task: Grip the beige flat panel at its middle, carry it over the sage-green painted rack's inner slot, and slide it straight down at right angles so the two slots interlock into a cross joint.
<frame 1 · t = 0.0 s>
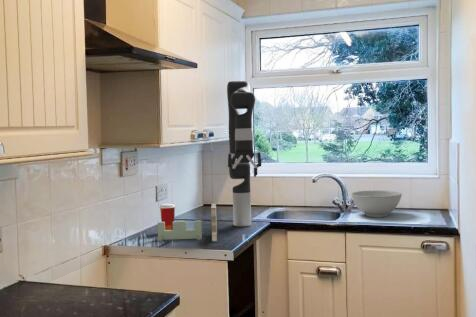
hand: (244, 177, 222), 29 cm above the worktop, fingers open, 8 cm apart
decorative bowl: (376, 215, 287), on the worktop
rack: (180, 238, 240), on the worktop
paper cup: (168, 233, 255), on the worktop
beige flat panel: (214, 237, 240), on the worktop
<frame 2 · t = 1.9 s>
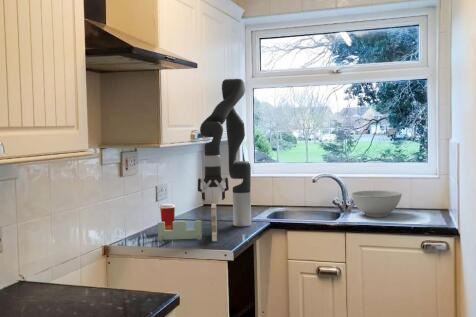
hand: (213, 200, 239), 17 cm above the worktop, fingers open, 8 cm apart
nothing on the worktop moved.
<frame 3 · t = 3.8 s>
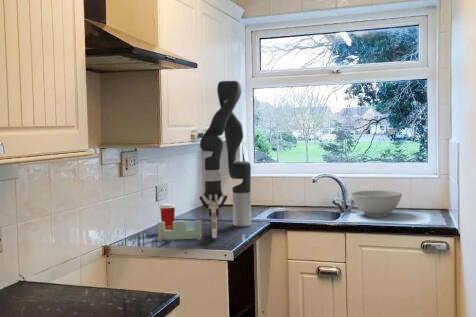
hand: (214, 216, 240), 10 cm above the worktop, fingers closed on beige flat panel, 2 cm apart
beige flat panel: (214, 233, 240), point 2 cm above the worktop, touching gripper
everything else where it was.
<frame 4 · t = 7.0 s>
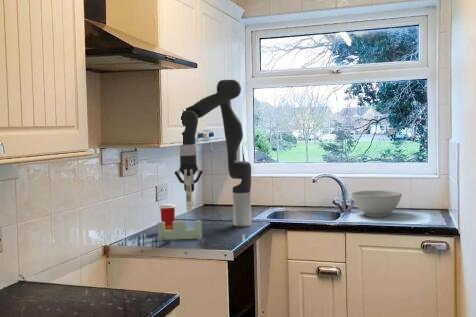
hand: (189, 191, 239), 22 cm above the worktop, fingers closed on beige flat panel
beige flat panel: (189, 207, 239), point 14 cm above the worktop, touching gripper
everything else where it was.
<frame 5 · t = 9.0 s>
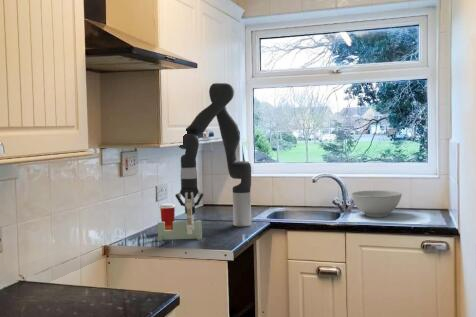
hand: (190, 214, 239), 11 cm above the worktop, fingers closed on beige flat panel
beige flat panel: (190, 230, 240), point 4 cm above the worktop, touching gripper
everything else where it was.
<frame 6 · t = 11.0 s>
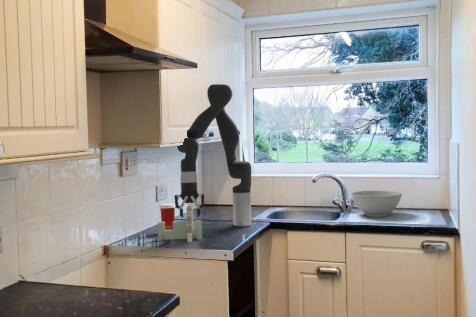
hand: (190, 216, 239), 10 cm above the worktop, fingers open, 6 cm apart
beige flat panel: (190, 238, 240), on the worktop, touching rack
everything else where it was.
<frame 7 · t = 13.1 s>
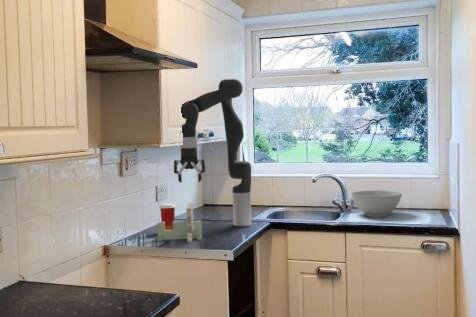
hand: (190, 182, 239), 26 cm above the worktop, fingers open, 8 cm apart
nothing on the worktop moved.
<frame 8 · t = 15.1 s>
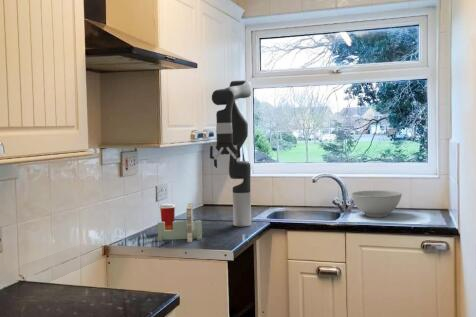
hand: (225, 167, 242), 32 cm above the worktop, fingers open, 8 cm apart
nothing on the worktop moved.
at the end: beige flat panel 0.1 cm from the target spot on the rack, point 0.0 cm above the rack's base; beige flat panel tilted 0°; the gripper is holding nothing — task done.
